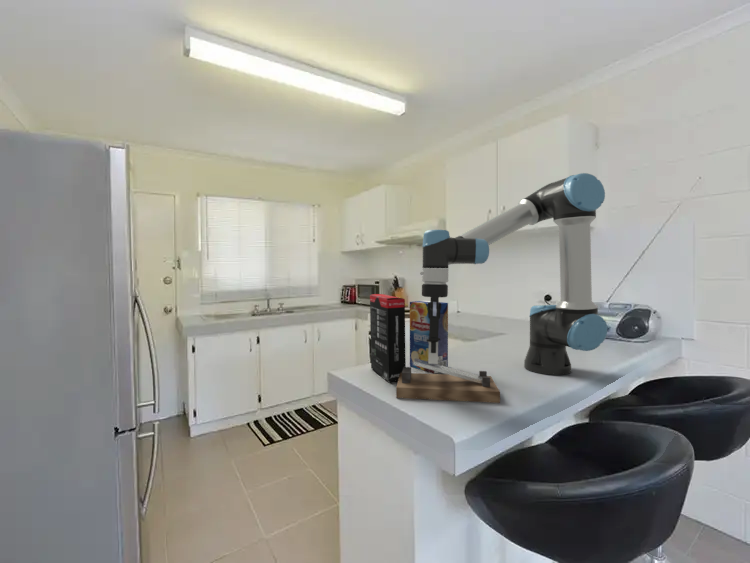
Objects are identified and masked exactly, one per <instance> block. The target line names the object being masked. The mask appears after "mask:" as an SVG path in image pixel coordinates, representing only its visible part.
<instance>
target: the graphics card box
mask: <svg viewBox="0 0 750 563" xmlns="http://www.w3.org/2000/svg"><path fill="white" fill-rule="evenodd" d="M369 317H370V318H369V319H370V321H369V322H370V363H371V364H370V367H371V369H372V370H373V371H374V372H375V373H377V374H378V375H379V376H380V377H382V378H383V379H384V380H385V381H386V382H388V383H394V382H398V379H399V375H400V373H402V371H403V367H407V365H406V362H407V361H406V300H405V298H402V297H398V296H394V295H393V296H392V295H388V294H386V293H385V294H382V293H374V294H373V293H372V294H369Z"/></svg>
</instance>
